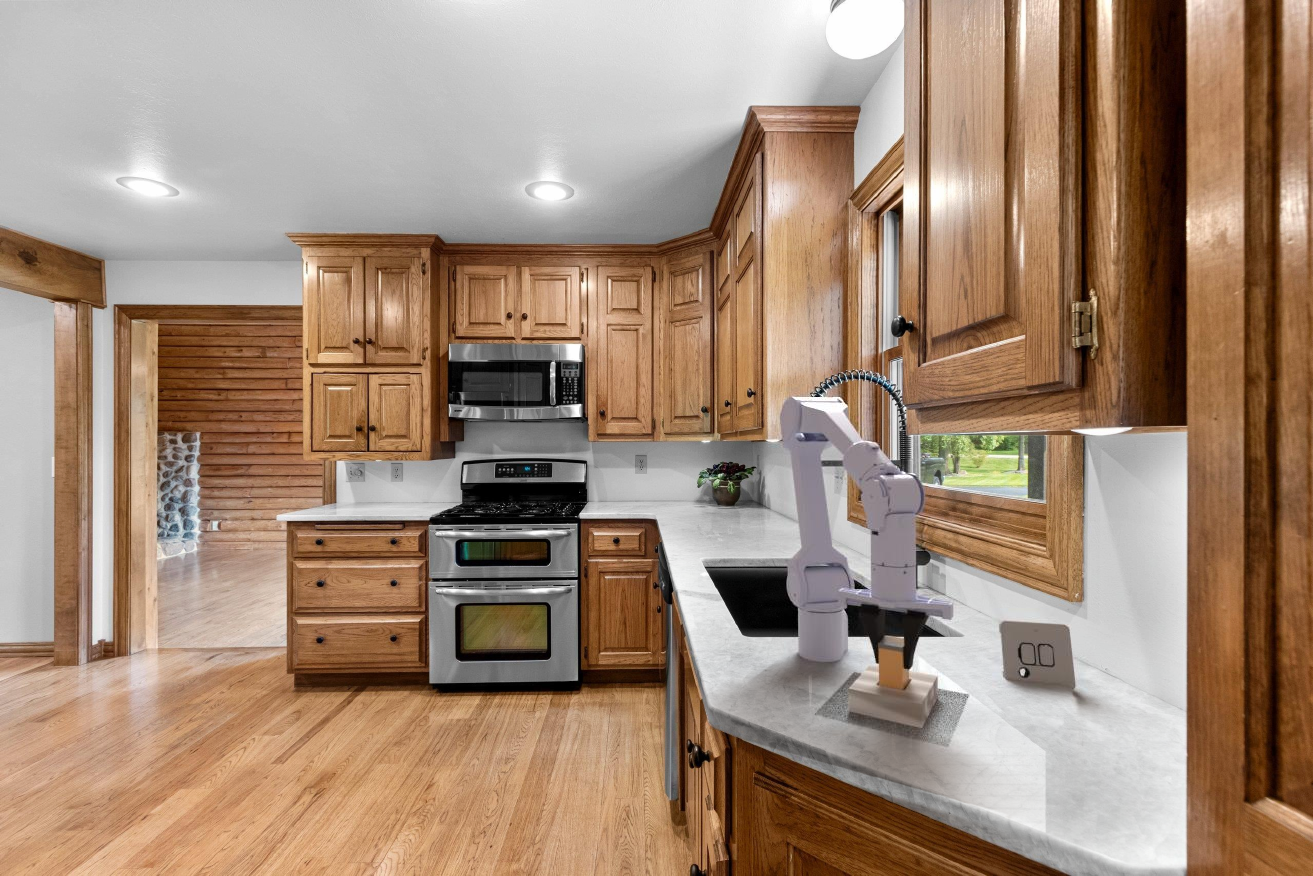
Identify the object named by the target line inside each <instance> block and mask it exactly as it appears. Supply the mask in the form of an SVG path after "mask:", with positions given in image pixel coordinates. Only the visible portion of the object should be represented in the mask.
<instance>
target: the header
mask: <svg viewBox="0 0 1313 876" xmlns="http://www.w3.org/2000/svg"><path fill="white" fill-rule="evenodd" d="M938 677H939V675H935V674H928V673H924V672H918V671H913V670H909V685H908V686H907V688H906V689H905V691H904V690H899V689H894V688H889V687H884V686H879V664H876V663H870V664H869V666H868V667H867V668H866V669H864V671H863V672H862V673H860V672H858V673H857V672H855V671H854V672H853V673H851V675H850V676H849V677H848V678H847V679H846V680H845V682H844V683H842V685H841V686H840V687H839V688H838V689H837V690H836V691H835V692H833V694H832V695H831V696H830V697H829V698H828V699H827V700H826V702H825V703H824V704H823V705H822V706H821V707H820V708H819V709H818V710H817V711H816V713H815V714H816V716H819V714H820V715H823V713H824V715H823V718H825V719H826V718H827V719H829V718H831V719H832V720H834V721H835V720H836V721H840V722H842V723H844V722H845V723H848V724H852V725H856V726H860V727H863V728H865V724H866V727H868V728H869V729H874V730H877V731H880V732H884V733H888V734H889V733H890V734H895V732H896V736H902V735H903V737H905V738H906V737H908V738H909V739H914V740H918V741H919V739H920V736H919V735H918V734H922V741H923V742H926V743H932V744H935V745H938V744H939V742H940V744H941V745H944V747H947V748H948V745H950V743H951V742H952V741H951V740H952V738H953V736H952V734H954V733H955V731H956V728H957V726H958V725H957V724H958V723H959V721H960V718H961V715H962V714H963V712H964V709H965V706H966V704H967V700H968V699H969V696H970V694H968V693H967V694H966V693H962V692H959V694H957V692H956V691H952V690H948V689H946V690H944V689H943V688H939V685H938V684H939V682H938V681H939V679H938ZM948 699H950V700H949V702H948ZM847 700H848V702H847ZM957 701H958V702H957ZM837 702H840V703H837ZM831 703H833V704H831ZM956 704H957V706H956ZM950 713H951V714H950ZM958 713H959V715H956V714H958ZM837 714H838V716H837ZM931 714H932V715H931ZM938 714H942V715H938ZM948 714H949V715H948ZM947 718H948V719H949V721H948V719H947ZM873 719H874V720H873ZM861 720H863V721H861ZM878 721H879V722H878ZM942 721H943V722H942ZM874 723H875V724H874ZM948 724H949V725H948ZM878 725H880V726H879V727H878ZM893 725H895V726H893ZM930 726H932V727H930ZM951 727H952V728H951ZM902 729H903V731H902ZM921 729H922V731H921ZM914 732H916V733H914ZM942 733H943V734H942ZM930 734H931V736H930ZM948 735H949V736H948ZM914 736H915V737H914ZM941 737H943V739H941ZM948 739H949V740H948ZM933 741H934V742H933Z"/></svg>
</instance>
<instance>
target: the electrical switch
mask: <svg viewBox="0 0 1313 876" xmlns="http://www.w3.org/2000/svg"><path fill="white" fill-rule="evenodd" d="M998 630H999V634H1000V642H1001V654H1002V655H1001V656H1002V666H1003V667H1002V668H1003V671H1002V677H1003V678H1004V679H1005V680H1012V681H1023V682H1035V683H1048V684H1054V685H1060V686H1066V687H1072V690H1074V689H1076V686H1077V685H1076V678H1075V666H1074V659H1073V648H1072V641H1071V639H1072V638H1071V632H1070V631H1071V630H1070V628H1069V626H1068V625H1066V624H1063V623H1055V622H1054V623H1052V622H1039V621H1038V622H1037V621H1020V620H1018V621H1017V620H1001V621H999V623H998ZM1021 670H1024V674H1023V675H1022V674H1021Z"/></svg>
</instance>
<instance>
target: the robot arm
mask: <svg viewBox="0 0 1313 876" xmlns="http://www.w3.org/2000/svg"><path fill="white" fill-rule="evenodd" d="M779 423H780V431H781V433H780V434H781V440H782V445H783V447H784V448H785V449H786V450H788V451H789V452H790V461H791V469H792V470H791V471H792V477H793V485H794V494H795V504H796V513H797V518H798V519H797V521H798V529H799V530H798V531H799V538H800V545H801V548H800V549H799V550H798V551H797V552H796V553H795V554H793V556H791V558H789V560H788V561H787V576H786V577H787V578H786V591H787V595H788V597H789V600H790V601H791V602H792V604H793V605H794V606H795V607H797V611H798V613H797V614H798V615H797V617H798V618H797V621H798V622H797V623H798V624H797V625H798V626H797V627H798V631H797V633H798V634H797V635H798V637H797V640H798V647H797V648H798V655H799V656H800V657H801V658H803V659H805V660H808V661H812V662H819V663H831V662H832V663H833V662H838V661H840V660H842V659H843V658H844V654H845V652H847V651H848V649H849V630H848V629H849V625H848V624H849V622H848V621H849V619H848V614H847V613H846V611H845V609H847V608H848V605H849V606H850V605H851V606H857V607H860V609H859V610H860V611H859V612H858V618H859V620H860V621H861V624H862V625H863V627H864V629H865V632H866V633H867V636H868V638H869V642H870V643H871V647H872V651H873V655H874V660H875V664H876V665H879V648H878V643H879V642H880V641H881V640H882V639H883V638H884V637H885V622H886V621H885V620H886V610H887V611H894V612H901V613H906V614H904V616H903V617H902V618H901V622H902V623H901V624H902V630H903V631H902V632H903V638H904V669H909V670H911V669H912V668H913V665H914V659H915V652H916V649H917V647H918V646H917V645H918V643H919V642H918V641H919V639H920V636H921V634H922V632H923V629H924V627H925V626H926V623H927V621H928V619H929V617H938V618H941V619H943V620H948V621H951V620H952V619H953V618H954V602H953V601H949V600H942V599H938V598H933V597H927V596H923V595H920V594H917V548H916V547H917V546H916V545H917V542H916V540H917V535H916V533H917V531H916V525H917V524H916V522H917V521H916V516H918V515H919V514H921V513H922V511H923V509H924V508H925V503H926V491H925V487H924V485H923V483H922V481H921V479H920V478H919V476H918V475H917V474H915V473H912V472H905V471H904V470H899V469H898V467H897V466H896V465H895V464H894V463H893V462H892V461H891V460H890V458H889V457H888V456H887V455H886V454H885V452H883V450H882V449H881V448H880V445H878V443H877V442H873V441H869V440H868V441H867V440H863V439H862V437H861V436H860V435H859V432H857V430H856V429H855V427H854V426H853V424H852V423H851V421H850V419H849V407H848V405H847V404H846V403H845V402H844V400H843V399H842V398H841V397H839V396H834V397H795V396H788V397H787V398H786V399H785V401H784V402H783V404H782V406H781V410H780V414H779ZM833 446H834V447H835V448H836V449H837V451H839V452H840V453H841V454H842V455H843V458H842V466H843V469H844V470H845V471H846V473H847V474H848V475H849V477H850V478H851V479H852V480H853V481H854V483H855V485H856V486H857V488H858V489H859V490H860V491H861V492H862V493H861V494H860V498H861V499H860V501H861V506H862V508H863V510H864V513H865V517H866V518H865V520H866V521H865V524H866V525H867V529H870V589H858V588H857V589H855V582H854V577H853V575H852V573H851V571H850V567H849V564H848V563H849V562H848V558H847V556H845V555H844V554H843V553H842V552H840V551H839V550H837V548H835V547H834V546H833V543H832V535H831V534H832V532H831V528H830V527H831V526H830V518H829V511H828V504H827V497H826V496H827V495H826V488H825V481H824V471H823V465H822V457H821V456H822V454H823V452H824V451H825V450H827V449H829V448H831V447H833ZM810 565H811V566H812V565H813V567H808V566H810ZM814 565H826V566H816V567H814Z"/></svg>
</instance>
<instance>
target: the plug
mask: <svg viewBox="0 0 1313 876" xmlns="http://www.w3.org/2000/svg"><path fill="white" fill-rule="evenodd" d="M878 648H879V664H878V665H879V686H884V687H889V688H894V689H899V690H904V691H905V689H906V688H907V686H908V685H909V671H910V669H904V637H898V636H892V635H884V638H883V639H882V640H881V641H880V642H879V643H878Z"/></svg>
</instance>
